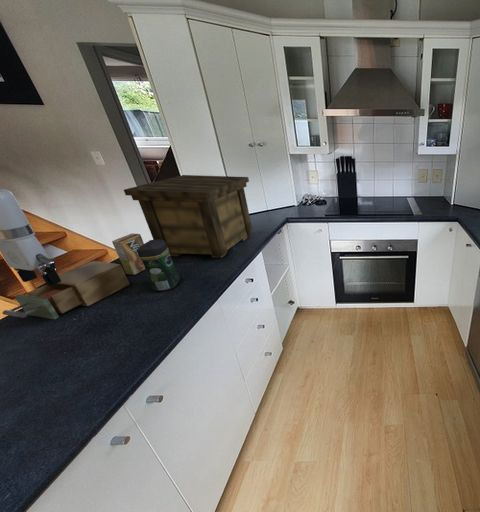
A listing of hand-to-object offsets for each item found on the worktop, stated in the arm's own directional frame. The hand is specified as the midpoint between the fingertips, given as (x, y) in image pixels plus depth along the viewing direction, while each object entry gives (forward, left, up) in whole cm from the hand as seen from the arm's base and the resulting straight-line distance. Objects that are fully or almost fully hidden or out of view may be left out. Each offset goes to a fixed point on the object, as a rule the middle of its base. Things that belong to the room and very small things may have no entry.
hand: (42, 281), depth 88 cm
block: (0, 0, -9) cm, 9 cm away
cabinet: (+6, +9, -11) cm, 16 cm away
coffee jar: (+29, +7, -11) cm, 32 cm away
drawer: (0, -1, -10) cm, 10 cm away
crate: (+38, +44, -11) cm, 59 cm away
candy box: (+14, +25, -12) cm, 31 cm away
